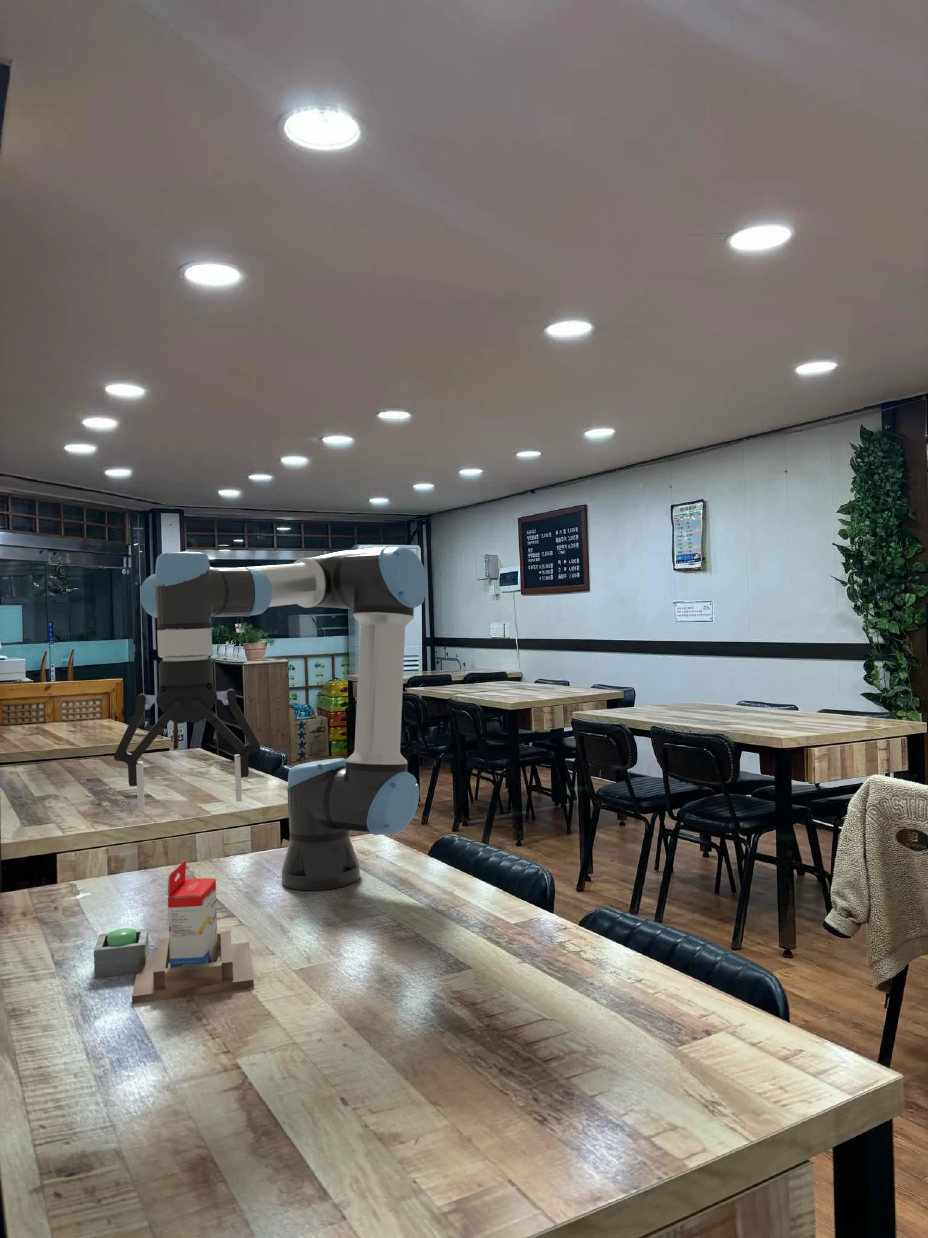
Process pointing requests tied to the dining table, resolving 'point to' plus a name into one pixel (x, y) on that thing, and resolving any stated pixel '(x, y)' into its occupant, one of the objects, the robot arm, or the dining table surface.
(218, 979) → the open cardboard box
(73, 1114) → the dining table surface
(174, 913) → the ink box
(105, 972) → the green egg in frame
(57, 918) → the dining table surface
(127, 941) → the button
